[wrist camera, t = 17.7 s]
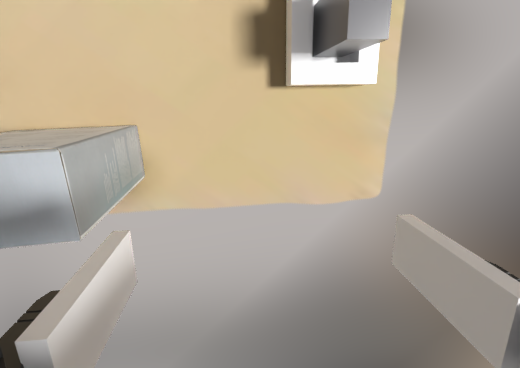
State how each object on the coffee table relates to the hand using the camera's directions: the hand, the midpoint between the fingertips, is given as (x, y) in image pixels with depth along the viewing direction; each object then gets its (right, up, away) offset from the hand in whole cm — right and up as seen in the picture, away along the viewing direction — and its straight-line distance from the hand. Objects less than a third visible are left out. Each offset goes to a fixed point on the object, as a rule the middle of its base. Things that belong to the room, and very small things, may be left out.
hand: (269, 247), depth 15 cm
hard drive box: (-24, +7, +26) cm, 36 cm away
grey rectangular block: (+8, +23, +24) cm, 34 cm away
